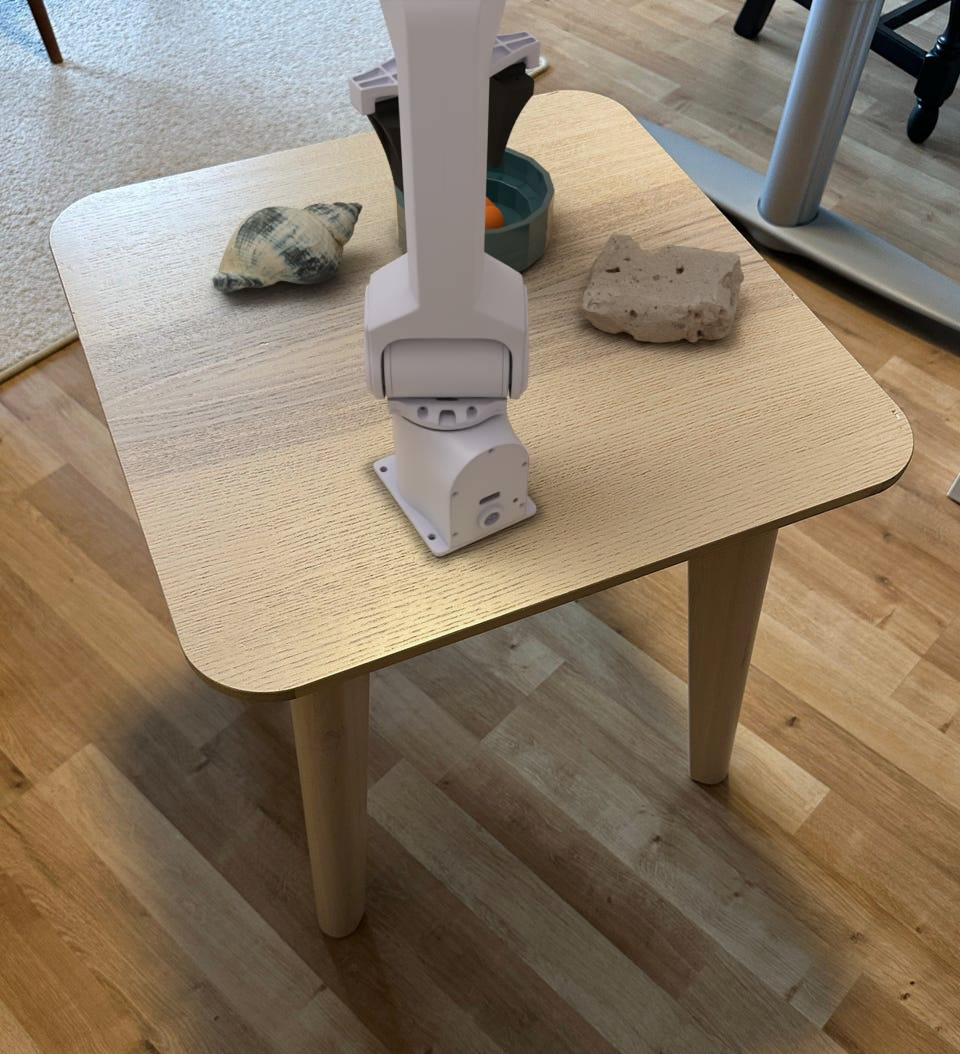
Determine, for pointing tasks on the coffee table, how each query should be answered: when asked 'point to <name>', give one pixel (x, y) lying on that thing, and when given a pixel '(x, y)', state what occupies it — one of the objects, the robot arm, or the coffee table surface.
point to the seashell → (287, 246)
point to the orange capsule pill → (493, 216)
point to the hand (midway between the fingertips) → (447, 174)
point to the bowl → (509, 210)
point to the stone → (662, 291)
